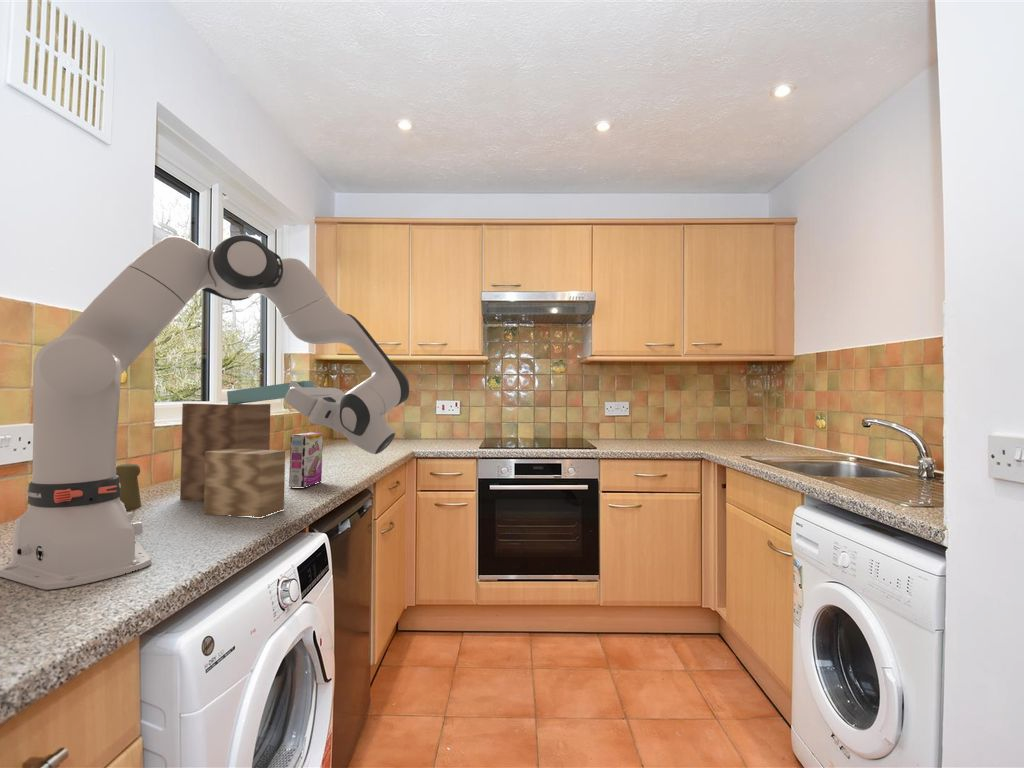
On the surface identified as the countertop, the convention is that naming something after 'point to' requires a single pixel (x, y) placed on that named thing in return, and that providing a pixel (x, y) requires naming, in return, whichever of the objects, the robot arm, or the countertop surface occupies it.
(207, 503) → the oak block
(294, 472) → the candy bar box
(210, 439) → the walnut stand
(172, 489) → the countertop surface
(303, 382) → the teal bar
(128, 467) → the cork
